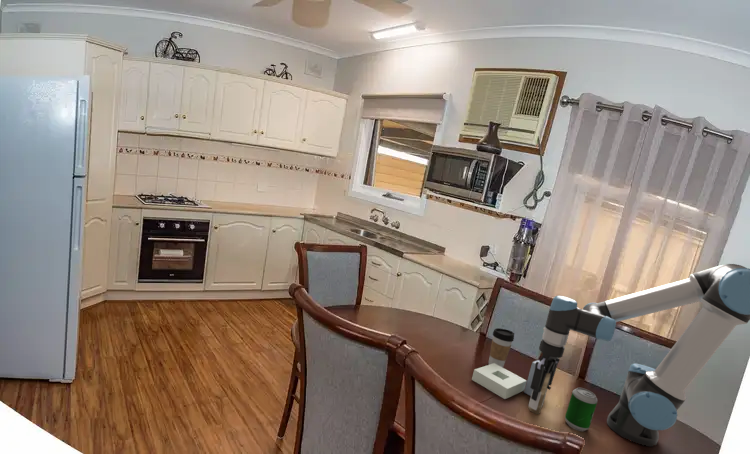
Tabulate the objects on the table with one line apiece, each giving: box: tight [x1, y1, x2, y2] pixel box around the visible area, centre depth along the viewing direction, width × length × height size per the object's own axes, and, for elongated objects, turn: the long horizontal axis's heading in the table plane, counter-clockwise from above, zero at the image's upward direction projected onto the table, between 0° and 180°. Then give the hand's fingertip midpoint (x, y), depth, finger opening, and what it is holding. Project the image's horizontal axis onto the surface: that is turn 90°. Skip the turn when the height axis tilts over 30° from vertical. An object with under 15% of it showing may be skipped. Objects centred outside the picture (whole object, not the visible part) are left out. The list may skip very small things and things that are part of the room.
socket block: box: [471, 363, 528, 400], centre depth 161 cm, size 14×14×4 cm
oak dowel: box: [528, 373, 550, 415], centre depth 147 cm, size 4×4×14 cm
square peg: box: [523, 359, 540, 397], centre depth 159 cm, size 5×5×12 cm
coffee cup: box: [488, 327, 515, 368], centre depth 177 cm, size 8×8×15 cm
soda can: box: [564, 387, 599, 432], centre depth 143 cm, size 8×8×12 cm
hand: (535, 406), depth 147 cm, fingers closed on oak dowel, 3 cm apart
